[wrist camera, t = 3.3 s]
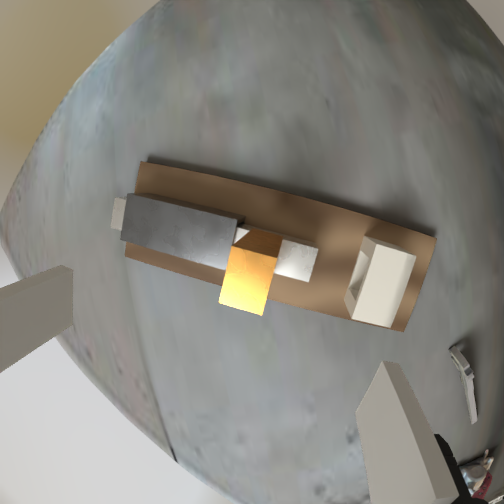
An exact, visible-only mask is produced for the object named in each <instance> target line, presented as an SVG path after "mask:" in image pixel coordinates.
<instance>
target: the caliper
mask: <svg viewBox="0 0 504 504" xmlns="http://www.w3.org/2000/svg"><path fill="white" fill-rule="evenodd" d="M449 352H450V353H451V354H452V356H451V358H452V360H453V362H454V363H455V365H456V367H457V368H458V370H459V372H460V378H461V382H462V384H463V385H464V390H465V394H466V399H467V405H468V410H469V416H470V420H471V423H472V424H473V423H475V422H476V421H477V413H476V405H475V398H474V392H473V390H474V386H473V380H472V379H473V378H474V375H473V373H474V372H473V371H472V369H471V368H470V365H469V363H468V362H467V360H466V359H465V358H464V356H463V355H462V354H461V352H460V351H459V350H458V349H457V348H456V347H455V346H454V347H452V348H451V349H449Z"/></svg>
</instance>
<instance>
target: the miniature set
mask: <svg viewBox="0 0 504 504" xmlns="http://www.w3.org/2000/svg"><path fill="white" fill-rule="evenodd" d="M503 496H504V495H503ZM501 497H502V496H501ZM502 499H504V497H503V498H501V499H500V496H499V497H498V498H496V499H494V500H492V501H490V502H489V504H490V503H492V502H493V503H492V504H495V503H497V502H499V501H501V500H502ZM496 500H497V501H496Z"/></svg>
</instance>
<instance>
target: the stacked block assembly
mask: <svg viewBox="0 0 504 504" xmlns="http://www.w3.org/2000/svg"><path fill="white" fill-rule="evenodd" d="M126 199H127V197H115V202H114V208H113V214H112V221H111V228H115V229H118V230H122V223H123V217H124V211H125V205H126ZM317 252H318V247H317V244H316V243H314V242H310V241H307V240H303V239H299V238H295V237H292V236H288V235H284V234H280V233H277V232H273V231H269V230H265V229H261V228H258V227H254V226H250V225H246V224H242V223H239V224H238V225H237V228H236V232H235V236H234V241H233V245H232V246H231V251H230V255H229V259H228V264H227V268H226V273H225V277H224V282H223V286H222V291H221V295H220V300H219V303H221V304H225V305H228V306H232V307H235V308H239V309H242V310H246V311H249V312H253V313H256V314H260V315H262V313H263V309H264V306H265V302H266V299H267V296H268V292H269V289H270V285H271V282H272V278H273V274H274V273H276V274H279V275H283V276H287V277H291V278H294V279H298V280H302V281H306V282H309V279H310V276H311V273H312V269H313V266H314V263H315V259H316V256H317Z"/></svg>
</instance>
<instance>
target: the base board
mask: <svg viewBox="0 0 504 504" xmlns="http://www.w3.org/2000/svg"><path fill="white" fill-rule="evenodd" d="M134 193H152V194H157V195H161V196H165V197H170V198H174V199H178V200H183V201H187V202H191V203H195V204H200V205H204V206H208V207H212V208H216V209H220V210H224V211H228V212H232V213H236V214H240V215H244V216H246V218H245V223H244V224H246V225H250V226H254V227H258V228H261V229H265V230H269V231H273V232H277V233H280V234H284V235H288V236H292V237H295V238H299V239H303V240H307V241H310V242H314V243H316V244H317V247H318V252H317V256H316V259H315V263H314V266H313V269H312V273H311V276H310V279H309V282H306V281H302V280H298V279H294V278H291V277H287V276H283V275H279V274H276V273H274V274H273V278H272V282H271V285H270V289H269V292H268V296H267V299H270V300H274V301H278V302H281V303H285V304H289V305H293V306H297V307H300V308H304V309H308V310H312V311H316V312H320V313H324V314H328V315H332V316H336V317H340V318H344V319H348V320H353V321H357V322H361V323H365V324H369V325H374V326H378V327H383V328H387V329H391V330H396V331H400V332H404V330H405V328H406V325H407V323H408V320H409V318H410V316H411V313H412V311H413V308H414V305H415V303H416V300H417V298H418V295H419V292H420V290H421V287H422V284H423V281H424V278H425V275H426V272H427V269H428V266H429V263H430V260H431V257H432V254H433V250H434V247H435V244H436V240H437V238H434V237H431V236H429V235H426V234H423V233H420V232H417V231H414V230H411V229H408V228H405V227H402V226H399V225H396V224H393V223H390V222H387V221H383V220H380V219H377V218H374V217H371V216H367V215H364V214H361V213H358V212H354V211H351V210H347V209H344V208H341V207H337V206H334V205H330V204H327V203H323V202H319V201H316V200H312V199H308V198H305V197H301V196H297V195H293V194H290V193H286V192H282V191H278V190H274V189H270V188H266V187H262V186H258V185H253V184H249V183H245V182H241V181H236V180H232V179H227V178H223V177H218V176H214V175H209V174H204V173H200V172H195V171H190V170H185V169H180V168H175V167H170V166H164V165H159V164H153V163H148V162H142V161H141V162H140V167H139V172H138V177H137V182H136V187H135V192H134ZM364 236H367V237H371V238H374V239H377V240H381V241H384V242H387V243H390V244H394V245H397V246H400V247H401V248H403V249H405V250H407V251H408V252H410V253H412V254H414V255H415V256H416V259H415V263H414V266H413V269H412V272H411V275H410V278H409V280H408V283H407V286H406V289H405V292H404V294H403V297H402V300H401V303H400V305H399V308H398V310H397V313H396V315H395V318H394V320H393V323H392V325H391V328H389V327H384V326H380V325H376V324H371V323H367V322H363V321H359V320H354V319H351V316H350V314H349V312H348V309H347V307H346V304H345V302H344V297H345V294H346V291H347V288H348V285H349V282H350V279H351V276H352V273H353V270H354V267H355V264H356V260H357V257H358V254H359V251H360V247H361V244H362V241H363V237H364ZM125 256H126V257H129V258H132V259H135V260H138V261H141V262H144V263H147V264H151V265H154V266H157V267H160V268H163V269H167V270H170V271H173V272H176V273H180V274H183V275H186V276H190V277H193V278H196V279H200V280H203V281H206V282H210V283H213V284H217V285H220V286H223V282H224V277H225V273H226V270H222V269H218V268H215V267H211V266H208V265H204V264H201V263H197V262H194V261H190V260H187V259H183V258H180V257H177V256H173V255H170V254H166V253H163V252H160V251H156V250H153V249H149V248H146V247H143V246H139V245H136V244H133V243H129V242H126V250H125Z"/></svg>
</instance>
